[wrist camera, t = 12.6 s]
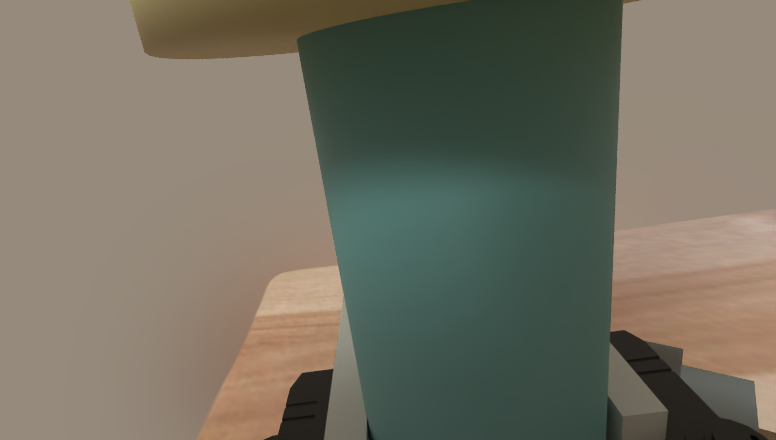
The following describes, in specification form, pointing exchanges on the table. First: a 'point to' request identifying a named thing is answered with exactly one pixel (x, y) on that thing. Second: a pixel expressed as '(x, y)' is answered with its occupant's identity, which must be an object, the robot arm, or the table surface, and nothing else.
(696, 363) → the table surface
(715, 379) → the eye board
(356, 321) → the disc-capped post
